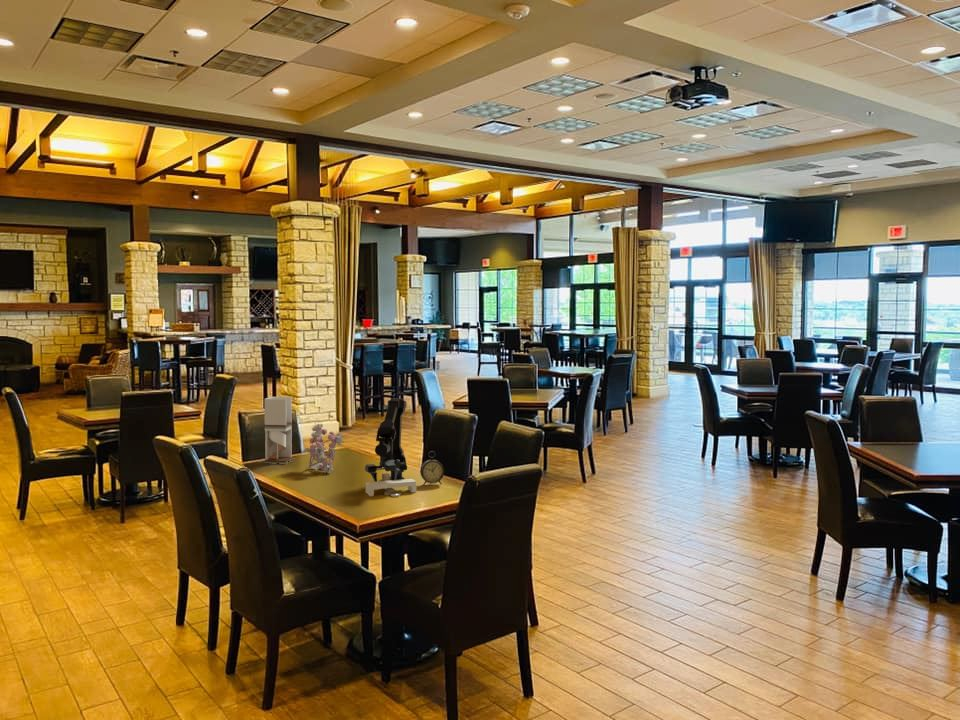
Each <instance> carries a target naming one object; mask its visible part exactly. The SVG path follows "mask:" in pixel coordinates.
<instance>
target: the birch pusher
mask: <svg viewBox="0 0 960 720" xmlns="http://www.w3.org/2000/svg"><path fill="white" fill-rule="evenodd" d="M390 476H391V473H389V472H382V473H381V481H389V480H391V479H390ZM384 489H385V490H386V491H385V490H384ZM383 490H384V492H383V495H384V496H390V493H400V495H402V494H403V490H402V489H399V490H395V488H383ZM401 493H402V494H401Z"/></svg>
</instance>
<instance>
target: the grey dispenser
mask: <svg viewBox="0 0 960 720" xmlns="http://www.w3.org/2000/svg"><path fill="white" fill-rule="evenodd" d="M292 400H293V398H292V396H270V397H266V398H264V433H265V434H264V435H265V436H264V439H265V440H264V441H265V442H264V445H265V447H264V449H265V451H264V452H265V454H264V455H265V456H264V458H265V459H264V464H265V463H287V462H288V461H289V460H291V459H292V456H293V455H292V452H293V451H292V449H293V447H292V445H293V443H292V441H293V440H292V437H293V433H292V430H293V428H292V424H293V423H292V421H293V420H292V415H293V414H292V412H293V411H292V410H293V409H292V407H293V406H292V403H293V402H292ZM292 460H293V459H292ZM287 464H288V463H287Z"/></svg>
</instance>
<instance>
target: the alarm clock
mask: <svg viewBox="0 0 960 720" xmlns="http://www.w3.org/2000/svg"><path fill="white" fill-rule="evenodd" d="M430 453H434V454H436V452H435V451H434V450H431V451H429V452H428V454H430ZM435 456H436V455H434V456H430V455H428V457H429V458H430V459H427V460H426V461H424V462H423V463H422V465H421V466H420V471H419V472H420V476H421V478H422V479H423V481H424V483H423V484H422V485H423V486H425V484H427V483H428V484H437V483H439V484H440V485H443V484H442V482H441V480H442V479H443V478H444V474H445V468H444V466H443V464H442V463H441V462H440V461H438V460H436V459H433V458H435Z"/></svg>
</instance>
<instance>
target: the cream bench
mask: <svg viewBox="0 0 960 720" xmlns="http://www.w3.org/2000/svg"><path fill="white" fill-rule="evenodd" d="M404 487H405V488H406V487H407V491H409V490H410V491H411V492H410V491H409V492H410V493H412V492H413V493H416V492H417V481H416V480H415V479H413V478H404V479H399V480H391V479H390V480H389V481H382V480H380V481H378V480H377V482H374V481H367V482H365V494H366V493H367V494H368V495H369V496H368V495H367V494H366V495H367V496H368V497H374V494H375V493H374V491H375V490H381V489H383V488H393V489H395V488H404ZM383 490H384V489H383Z"/></svg>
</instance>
